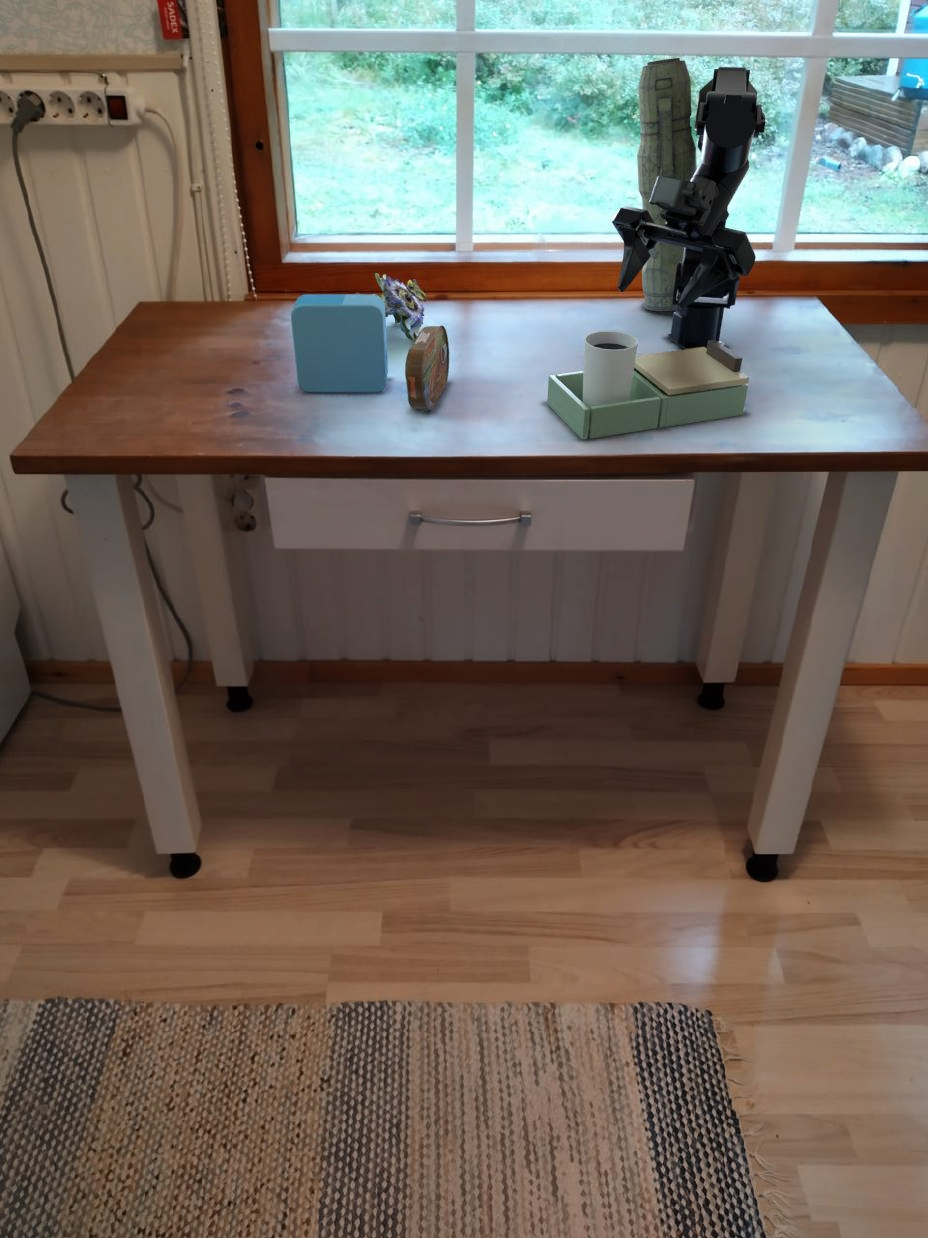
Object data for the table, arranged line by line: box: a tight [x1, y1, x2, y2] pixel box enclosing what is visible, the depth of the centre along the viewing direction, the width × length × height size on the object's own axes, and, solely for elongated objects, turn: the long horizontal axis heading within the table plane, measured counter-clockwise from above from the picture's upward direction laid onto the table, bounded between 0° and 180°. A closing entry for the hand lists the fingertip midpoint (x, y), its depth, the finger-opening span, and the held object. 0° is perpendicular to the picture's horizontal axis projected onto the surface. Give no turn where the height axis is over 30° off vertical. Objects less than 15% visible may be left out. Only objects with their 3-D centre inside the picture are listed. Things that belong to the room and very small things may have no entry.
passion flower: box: [354, 272, 428, 342], centre depth 149 cm, size 11×11×12 cm
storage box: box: [546, 368, 749, 441], centre depth 129 cm, size 23×11×4 cm, turn 109°
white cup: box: [582, 330, 639, 417], centre depth 125 cm, size 7×7×10 cm
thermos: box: [636, 57, 698, 312], centre depth 153 cm, size 9×12×35 cm
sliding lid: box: [634, 340, 750, 395], centre depth 128 cm, size 11×11×3 cm
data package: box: [290, 293, 389, 393], centre depth 132 cm, size 12×4×12 cm, turn 90°
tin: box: [404, 325, 450, 411], centre depth 131 cm, size 15×3×8 cm, turn 168°
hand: (649, 298), depth 125 cm, fingers open, 9 cm apart
